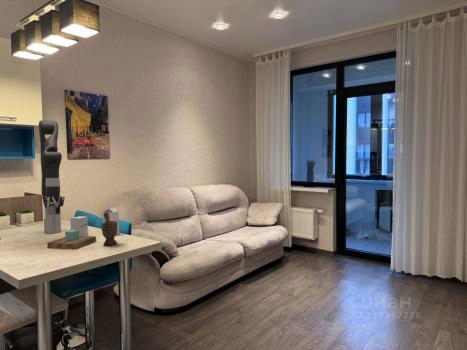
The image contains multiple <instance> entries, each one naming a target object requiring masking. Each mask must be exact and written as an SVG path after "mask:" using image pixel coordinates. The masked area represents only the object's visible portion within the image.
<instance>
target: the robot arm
mask: <svg viewBox="0 0 467 350" xmlns="http://www.w3.org/2000/svg"><path fill="white" fill-rule="evenodd" d="M38 133H39V142H40V147H39V148H40V168H41V186H40V187H41V199H42V202H43V206H44V219H43V231H44V234H57V233H60V232H62V220H61V218H62V217H61V214H59V213H60V211H61V208H62V207H64V204H65V198H66V197H65V196H61V179H60V165H61V163H62V158H63V156H62V155H63V154H62V153H61V152H59V151H58V148H59V147H58V138H59V124H58V121H57V120H47V119H46V120H44V119H42V120H41V119H40V120H39V122H38ZM45 135H46V136H48V135H49V136H48V137H47V138H46V136H45ZM53 205H56V214H58V215H47V207H48V206H53Z"/></svg>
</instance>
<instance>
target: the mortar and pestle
mask: <svg viewBox="0 0 467 350" xmlns="http://www.w3.org/2000/svg"><path fill="white" fill-rule="evenodd" d="M104 212H105V211H104ZM104 218H105V220H106V222H104V221H103V222H101V224H100V226H101V232H102V233H101V234H102V236H103V237H104V238H105V241H104V242H103V245H102V246H106V247H113V246H117V245H118V241H117V240H116V239H115V237H116V236H117V235H118V234H117V228H118V227H117V221H110V217H109V213H108V212H105V213H104ZM116 234H117V235H116Z"/></svg>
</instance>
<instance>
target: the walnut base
mask: <svg viewBox="0 0 467 350" xmlns="http://www.w3.org/2000/svg"><path fill="white" fill-rule="evenodd" d="M96 242H97V236H95V235H94V236H92V235H88V236H79V239H77V240H74V241H68V240H66V238H65V236H63V237H61V238H57V239H55V240H51V241H49V242H47V243H46V247H47V249H56V250H57V249H58V250H79V249H81V248H83V247H85V246H89V245H91V244H93V243H96Z"/></svg>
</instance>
